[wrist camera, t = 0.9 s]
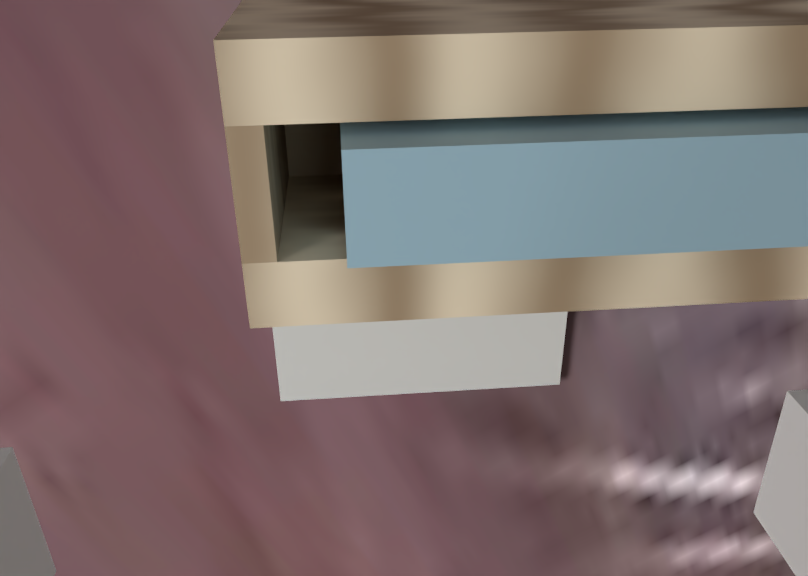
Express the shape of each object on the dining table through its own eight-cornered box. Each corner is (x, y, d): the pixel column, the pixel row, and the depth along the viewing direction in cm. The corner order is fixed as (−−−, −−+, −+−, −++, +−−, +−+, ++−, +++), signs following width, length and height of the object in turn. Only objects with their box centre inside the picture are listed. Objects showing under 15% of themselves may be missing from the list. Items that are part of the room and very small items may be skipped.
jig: (792, -16, 32) (954, 21, 24) (743, 201, 37) (864, 295, 29) (245, -4, 30) (213, 40, 22) (268, 222, 35) (249, 328, 27)
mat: (266, 260, 36) (265, 266, 36) (570, 246, 37) (574, 251, 37) (281, 394, 40) (280, 401, 39) (556, 377, 41) (559, 384, 40)
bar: (813, 97, 27) (884, 130, 24) (787, 200, 29) (850, 244, 26) (339, 113, 26) (341, 149, 22) (345, 219, 28) (347, 268, 24)
